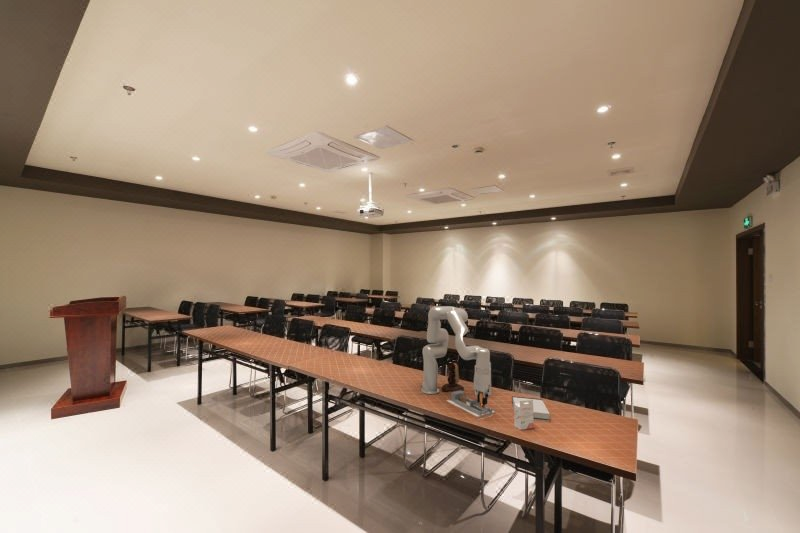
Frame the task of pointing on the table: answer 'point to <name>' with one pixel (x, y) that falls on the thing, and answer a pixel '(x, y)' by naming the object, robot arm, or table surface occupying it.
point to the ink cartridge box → (523, 415)
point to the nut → (463, 399)
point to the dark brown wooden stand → (453, 378)
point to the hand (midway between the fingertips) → (482, 402)
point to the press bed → (467, 404)
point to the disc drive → (535, 408)
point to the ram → (479, 404)
